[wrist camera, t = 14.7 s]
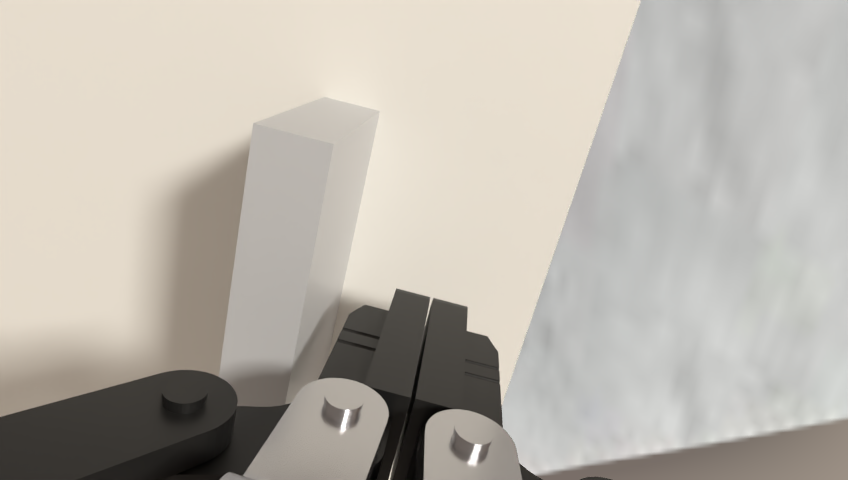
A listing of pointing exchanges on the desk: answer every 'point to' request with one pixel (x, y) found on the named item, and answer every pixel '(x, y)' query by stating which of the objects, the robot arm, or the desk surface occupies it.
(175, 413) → the robot arm
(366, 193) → the lid
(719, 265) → the desk surface
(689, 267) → the desk surface
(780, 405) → the desk surface
